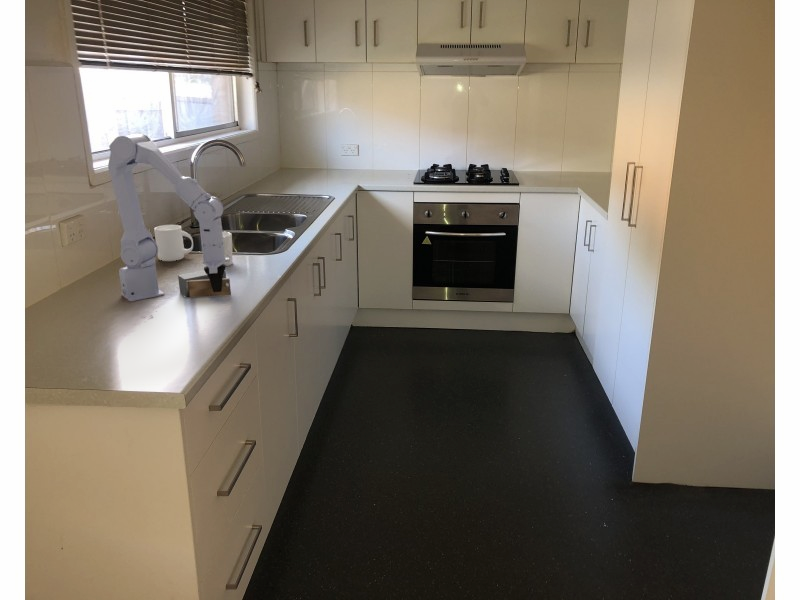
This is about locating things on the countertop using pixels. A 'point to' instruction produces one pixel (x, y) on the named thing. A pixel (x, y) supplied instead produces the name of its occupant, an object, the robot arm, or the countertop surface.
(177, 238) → the mug
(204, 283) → the door
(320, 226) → the countertop surface
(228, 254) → the white cup
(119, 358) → the countertop surface
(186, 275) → the grey long block
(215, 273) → the robot arm
